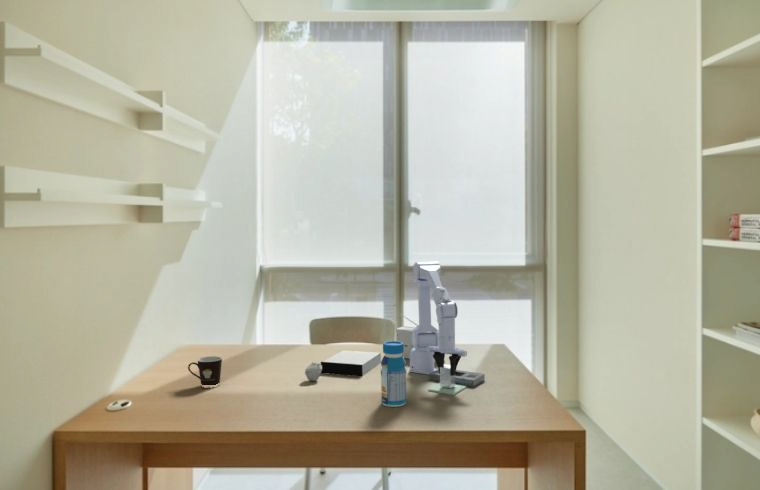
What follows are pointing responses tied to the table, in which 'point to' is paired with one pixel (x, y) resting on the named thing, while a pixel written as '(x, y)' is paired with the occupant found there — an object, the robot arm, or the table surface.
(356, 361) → the disc drive
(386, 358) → the beverage bottle
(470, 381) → the plate with square hole
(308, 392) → the table surface
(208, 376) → the coffee mug
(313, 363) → the frog figurine
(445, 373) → the steel peg
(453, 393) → the rubber pad
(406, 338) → the stereo radio cassette player
